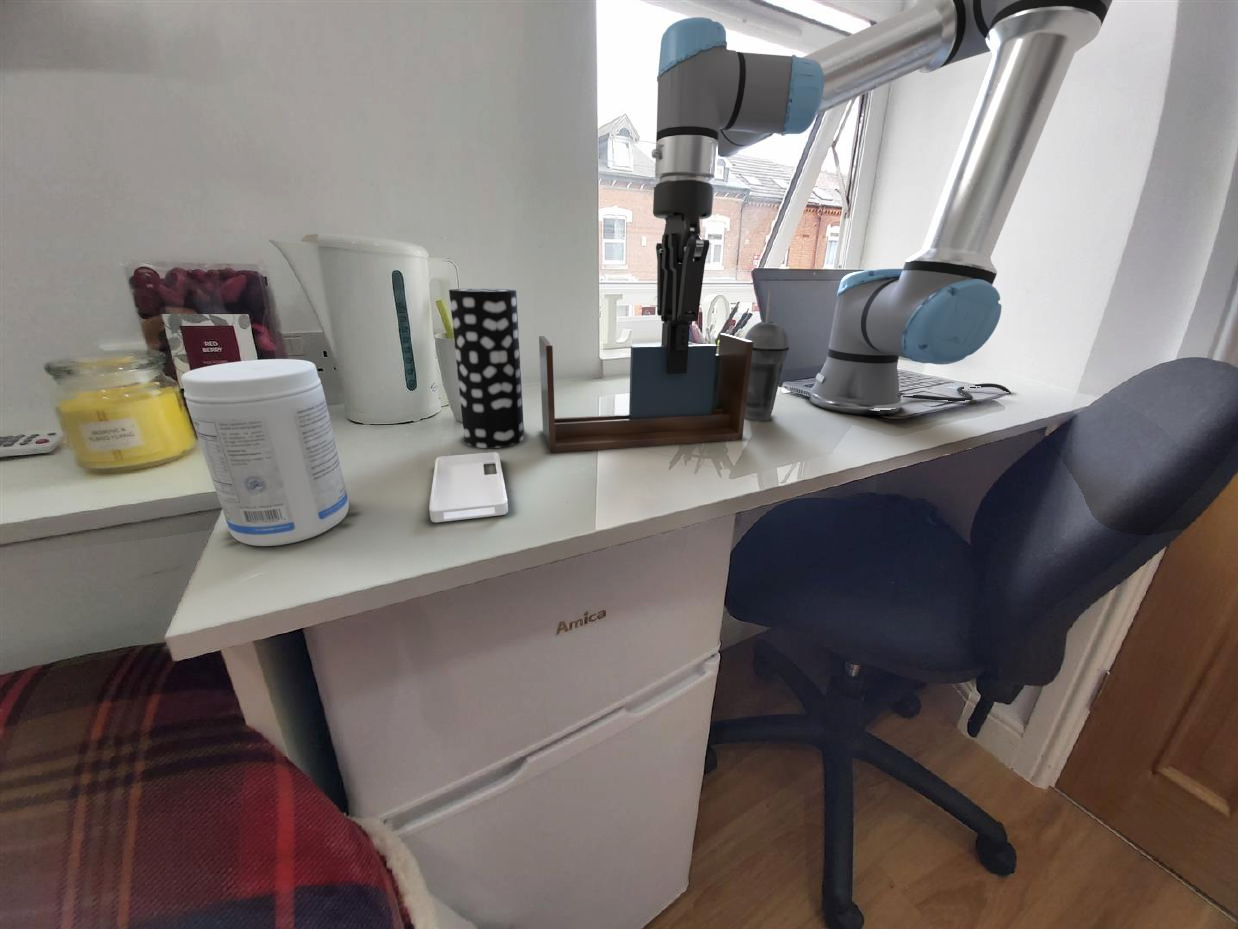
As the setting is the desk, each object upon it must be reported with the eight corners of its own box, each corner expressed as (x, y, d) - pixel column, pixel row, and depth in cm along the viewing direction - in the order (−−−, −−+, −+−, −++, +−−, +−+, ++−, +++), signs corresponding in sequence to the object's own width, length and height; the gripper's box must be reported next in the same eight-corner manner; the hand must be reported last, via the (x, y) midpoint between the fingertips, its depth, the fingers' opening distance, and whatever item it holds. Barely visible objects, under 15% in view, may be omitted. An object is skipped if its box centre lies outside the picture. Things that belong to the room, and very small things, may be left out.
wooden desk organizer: (716, 422, 80) (724, 333, 75) (742, 439, 72) (753, 341, 67) (542, 432, 74) (538, 336, 68) (550, 453, 66) (546, 345, 60)
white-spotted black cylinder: (510, 450, 66) (499, 292, 59) (453, 445, 68) (435, 290, 60) (532, 432, 74) (525, 289, 66) (480, 427, 75) (468, 288, 68)
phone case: (437, 466, 60) (430, 524, 47) (436, 456, 60) (428, 511, 47) (499, 461, 62) (508, 515, 49) (498, 451, 62) (508, 502, 48)
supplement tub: (322, 493, 53) (291, 354, 47) (370, 519, 48) (340, 366, 42) (213, 529, 46) (160, 369, 40) (255, 563, 40) (201, 385, 35)
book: (706, 422, 76) (714, 322, 70) (711, 426, 74) (720, 323, 69) (627, 426, 73) (630, 322, 67) (631, 430, 71) (634, 324, 66)
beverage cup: (738, 422, 80) (753, 291, 73) (730, 410, 87) (743, 289, 79) (784, 423, 80) (803, 292, 73) (772, 411, 87) (789, 290, 79)
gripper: (638, 189, 68) (633, 362, 76) (677, 170, 54) (665, 383, 63) (689, 192, 69) (679, 361, 78) (739, 174, 56) (720, 381, 64)
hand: (673, 370), depth 70 cm, fingers closed on book, 2 cm apart
